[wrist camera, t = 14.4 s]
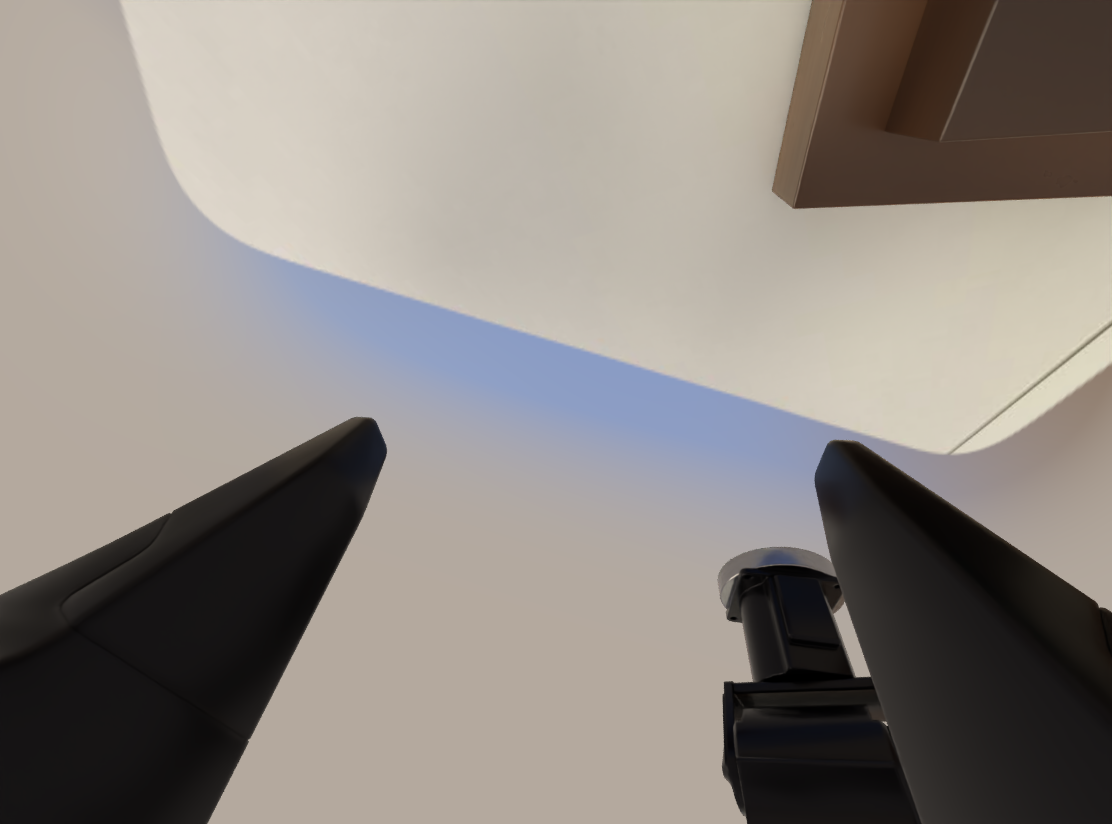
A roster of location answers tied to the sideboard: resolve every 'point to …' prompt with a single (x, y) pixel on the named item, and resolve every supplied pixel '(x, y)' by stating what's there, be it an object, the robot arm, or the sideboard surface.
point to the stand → (949, 103)
